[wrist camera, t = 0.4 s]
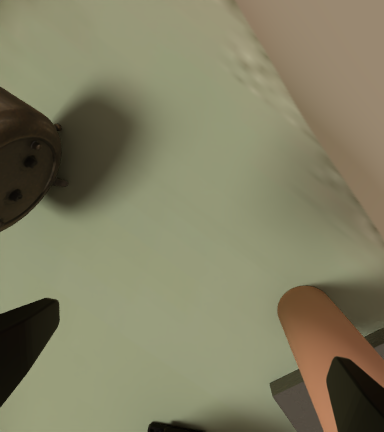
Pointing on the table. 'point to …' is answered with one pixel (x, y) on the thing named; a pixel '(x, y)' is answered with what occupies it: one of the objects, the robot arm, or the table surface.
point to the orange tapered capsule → (323, 344)
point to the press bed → (299, 397)
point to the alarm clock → (25, 158)
